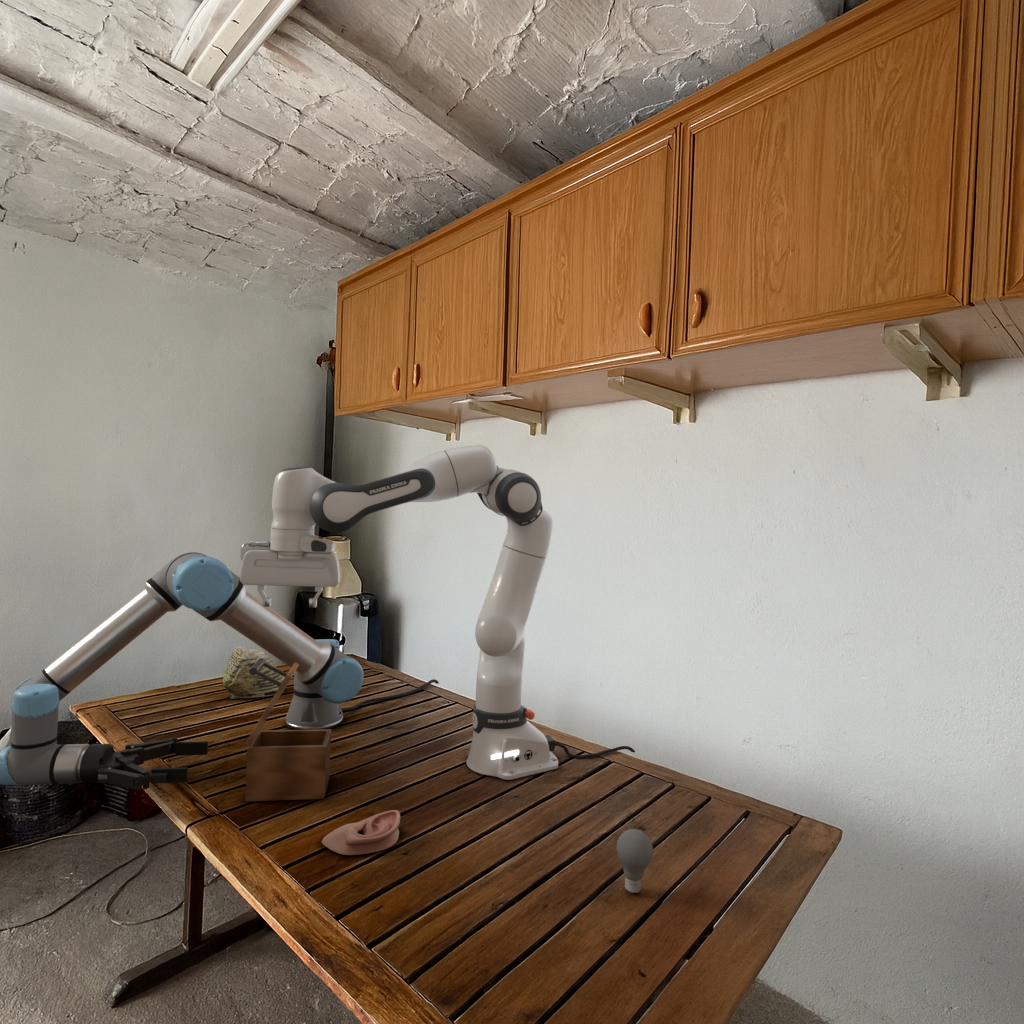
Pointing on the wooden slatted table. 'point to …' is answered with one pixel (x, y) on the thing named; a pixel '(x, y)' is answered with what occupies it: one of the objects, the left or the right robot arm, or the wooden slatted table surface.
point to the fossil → (242, 680)
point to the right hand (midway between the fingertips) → (289, 606)
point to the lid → (255, 671)
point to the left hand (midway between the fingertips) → (197, 760)
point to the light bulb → (634, 857)
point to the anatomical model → (365, 835)
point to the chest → (288, 765)
